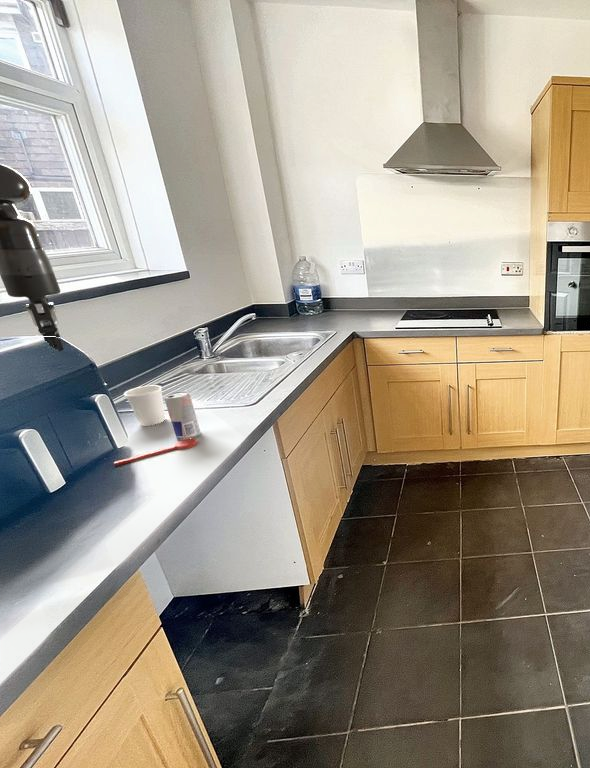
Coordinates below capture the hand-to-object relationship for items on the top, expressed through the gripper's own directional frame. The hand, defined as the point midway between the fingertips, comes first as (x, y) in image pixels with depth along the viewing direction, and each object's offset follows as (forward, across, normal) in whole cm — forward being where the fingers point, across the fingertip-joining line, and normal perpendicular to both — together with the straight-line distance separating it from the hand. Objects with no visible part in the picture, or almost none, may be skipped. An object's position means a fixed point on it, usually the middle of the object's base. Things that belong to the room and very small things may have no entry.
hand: (56, 347), depth 91 cm
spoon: (+28, +6, +10) cm, 31 cm away
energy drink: (+28, 0, +18) cm, 33 cm away
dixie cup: (+28, -18, +13) cm, 36 cm away
